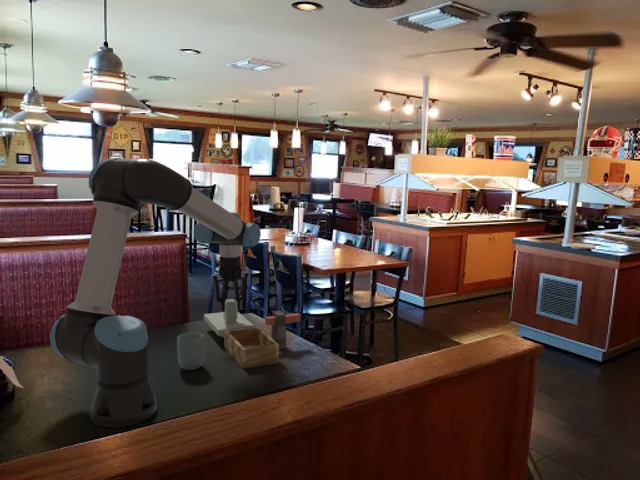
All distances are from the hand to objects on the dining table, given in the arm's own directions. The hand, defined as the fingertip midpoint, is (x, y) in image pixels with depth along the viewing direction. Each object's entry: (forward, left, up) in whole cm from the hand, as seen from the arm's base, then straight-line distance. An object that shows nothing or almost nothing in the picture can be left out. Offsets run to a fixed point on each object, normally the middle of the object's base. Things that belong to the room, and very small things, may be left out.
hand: (230, 319), depth 178 cm
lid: (+3, 0, -5) cm, 5 cm away
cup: (-23, +19, -7) cm, 31 cm away
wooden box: (-20, -4, -7) cm, 22 cm away
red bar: (-16, -14, +2) cm, 21 cm away
